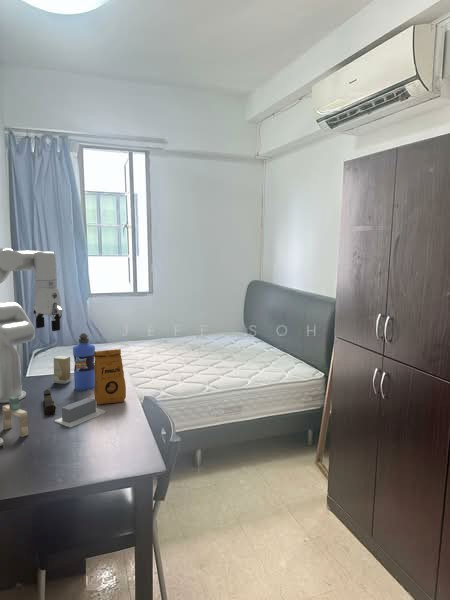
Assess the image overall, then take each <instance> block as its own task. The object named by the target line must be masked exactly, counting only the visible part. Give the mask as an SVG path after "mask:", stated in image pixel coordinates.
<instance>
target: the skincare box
mask: <svg viewBox="0 0 450 600" xmlns="http://www.w3.org/2000/svg"><path fill="white" fill-rule="evenodd" d="M70 382H71V356H65V355H57V356H55V357H53V383H54V384H63V385H66V384H68V383H70Z"/></svg>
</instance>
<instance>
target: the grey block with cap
mask: <svg viewBox="0 0 450 600" xmlns="http://www.w3.org/2000/svg"><path fill="white" fill-rule="evenodd" d="M96 408H97V409H98V404H97V401H96V400H95V398H92V397H89V396H88V397H86V398H83V399H81V400H77V401H75V402H72V403H70V404H66V405H65V406H62V407H61V418H62V421H65V422H68V423H71V422H73V421H76V420H78V419H80V418H83V417H85V416H88V415H90V414H92V413H95V412H96Z"/></svg>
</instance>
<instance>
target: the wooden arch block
mask: <svg viewBox="0 0 450 600" xmlns="http://www.w3.org/2000/svg"><path fill="white" fill-rule="evenodd" d="M1 406H2V407H1V408H2V421H3V422H2V424H3V425H2V426H3V430H9V429H11V428H12V415H14V416H16V417H18V425H19V436H20V437H22V438H24V437H26V436H29V427H28V426H29V422H28V411H27V410H24V409H21V408H20V400H19V397H16V396H13V397H10V398H9V402H8V404H4V405H1Z"/></svg>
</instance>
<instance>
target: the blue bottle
mask: <svg viewBox="0 0 450 600" xmlns="http://www.w3.org/2000/svg"><path fill="white" fill-rule="evenodd" d="M88 337H89V335H88V334H86V333H81V334H80V335H79V336H78V344H77V345H74V346H73V347H72V356H73V359H74V368H73V370H74V371H73V376H74V390H75V391H77V392H88V391H91V390H94V387H95V372H94V366H95V364H94V363H95V357H94V352H95V351H96V346H95V345H94V344H91V343H90V341H89V340H90V339H89V338H88Z"/></svg>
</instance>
